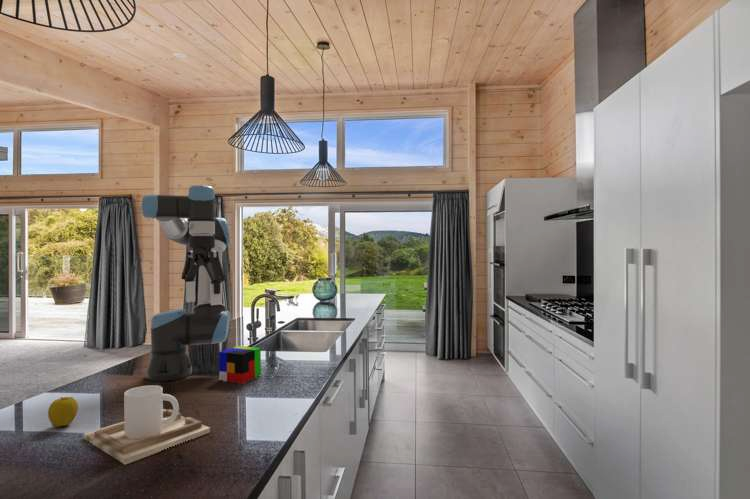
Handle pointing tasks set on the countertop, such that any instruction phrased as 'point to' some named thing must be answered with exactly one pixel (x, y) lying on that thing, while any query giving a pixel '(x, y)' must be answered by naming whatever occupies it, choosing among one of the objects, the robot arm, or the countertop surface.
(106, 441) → the board
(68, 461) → the countertop surface
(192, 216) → the robot arm
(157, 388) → the mug
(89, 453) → the countertop surface
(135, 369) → the countertop surface
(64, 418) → the apple
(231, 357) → the puzzle toy
